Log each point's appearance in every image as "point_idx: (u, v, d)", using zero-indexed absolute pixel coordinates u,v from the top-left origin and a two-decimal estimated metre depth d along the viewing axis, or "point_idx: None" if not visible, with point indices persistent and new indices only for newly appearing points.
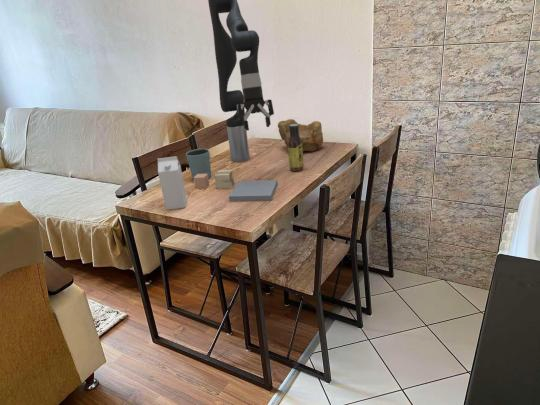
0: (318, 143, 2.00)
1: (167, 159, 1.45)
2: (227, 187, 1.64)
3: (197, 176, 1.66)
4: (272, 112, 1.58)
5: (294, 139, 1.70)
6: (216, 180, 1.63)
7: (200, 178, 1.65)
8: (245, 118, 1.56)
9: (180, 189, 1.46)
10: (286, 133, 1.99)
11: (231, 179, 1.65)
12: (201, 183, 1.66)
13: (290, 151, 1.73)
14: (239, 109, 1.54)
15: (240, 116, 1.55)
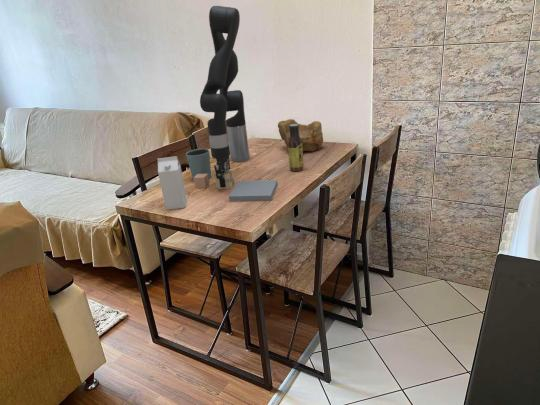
0: (318, 143, 2.00)
1: (167, 159, 1.45)
2: (227, 187, 1.64)
3: (197, 176, 1.66)
4: None
5: (294, 139, 1.70)
6: (216, 180, 1.63)
7: (200, 178, 1.65)
8: None
9: (180, 189, 1.46)
10: (286, 133, 1.99)
11: (231, 178, 1.65)
12: (201, 183, 1.66)
13: (290, 151, 1.73)
14: None
15: None
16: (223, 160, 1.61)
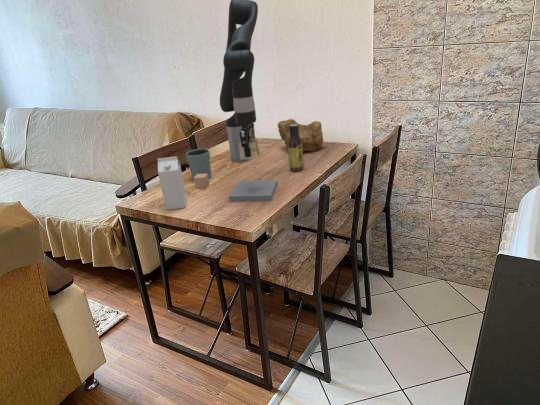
0: (318, 143, 2.00)
1: (167, 159, 1.45)
2: (252, 157, 1.48)
3: (197, 176, 1.66)
4: None
5: (294, 139, 1.70)
6: (240, 149, 1.48)
7: (200, 178, 1.65)
8: None
9: (180, 189, 1.46)
10: (286, 133, 1.99)
11: (256, 148, 1.49)
12: (201, 183, 1.66)
13: (290, 151, 1.73)
14: None
15: None
16: (248, 127, 1.46)
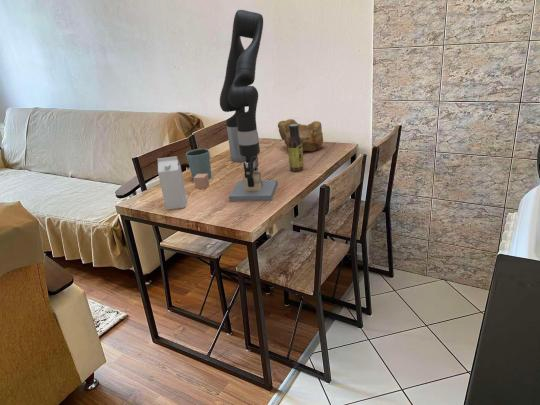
0: (318, 143, 2.00)
1: (167, 159, 1.45)
2: (256, 189, 1.53)
3: (196, 176, 1.66)
4: None
5: (294, 139, 1.70)
6: (244, 181, 1.53)
7: (200, 178, 1.65)
8: None
9: (180, 189, 1.46)
10: (286, 133, 1.99)
11: (260, 180, 1.54)
12: (201, 183, 1.66)
13: (290, 151, 1.73)
14: None
15: None
16: (252, 158, 1.50)
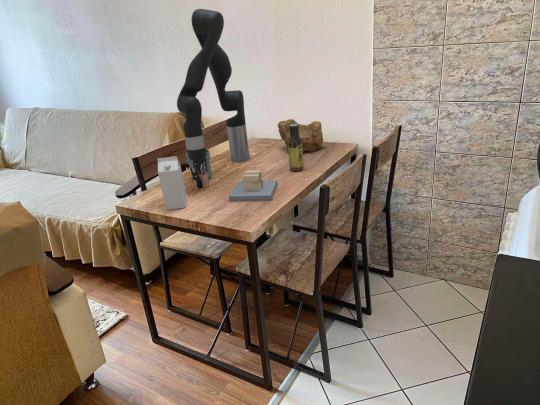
0: (318, 143, 2.00)
1: (167, 159, 1.45)
2: (256, 189, 1.53)
3: None
4: None
5: (294, 139, 1.70)
6: (244, 181, 1.53)
7: None
8: None
9: (180, 189, 1.46)
10: (286, 133, 1.99)
11: (260, 180, 1.54)
12: None
13: (290, 151, 1.73)
14: None
15: None
16: (199, 162, 1.63)
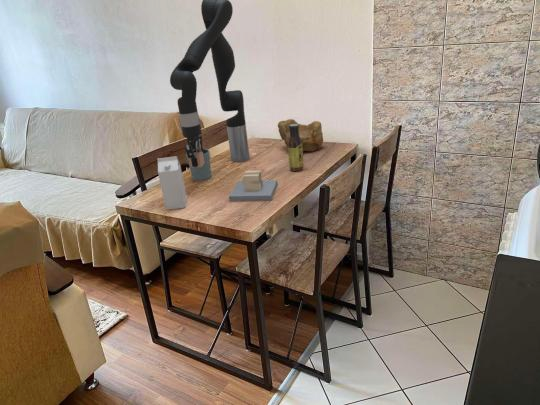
0: (318, 143, 2.00)
1: (167, 159, 1.45)
2: (256, 189, 1.53)
3: None
4: None
5: (294, 139, 1.70)
6: (244, 181, 1.53)
7: None
8: None
9: (180, 189, 1.46)
10: (286, 133, 1.99)
11: (260, 180, 1.54)
12: None
13: (290, 151, 1.73)
14: None
15: None
16: (194, 139, 1.60)
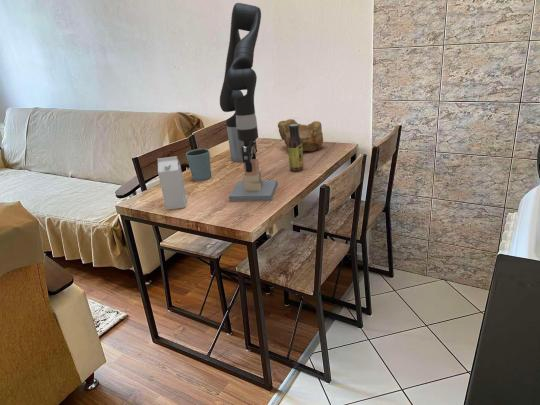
0: (318, 143, 2.00)
1: (167, 159, 1.45)
2: (256, 189, 1.53)
3: None
4: None
5: (294, 139, 1.70)
6: (244, 181, 1.53)
7: None
8: None
9: (180, 189, 1.46)
10: (286, 133, 1.99)
11: (260, 180, 1.54)
12: (252, 169, 1.51)
13: (290, 151, 1.73)
14: None
15: None
16: (250, 143, 1.48)
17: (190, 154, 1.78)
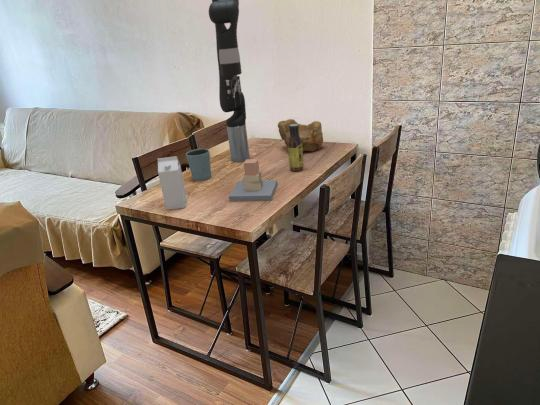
0: (318, 143, 2.00)
1: (167, 159, 1.45)
2: (256, 189, 1.53)
3: (246, 162, 1.51)
4: None
5: (294, 139, 1.70)
6: (244, 181, 1.53)
7: (250, 163, 1.50)
8: None
9: (180, 189, 1.46)
10: (286, 133, 1.99)
11: (260, 180, 1.54)
12: (252, 169, 1.51)
13: (290, 151, 1.73)
14: None
15: None
16: (234, 79, 1.49)
17: (190, 154, 1.78)
